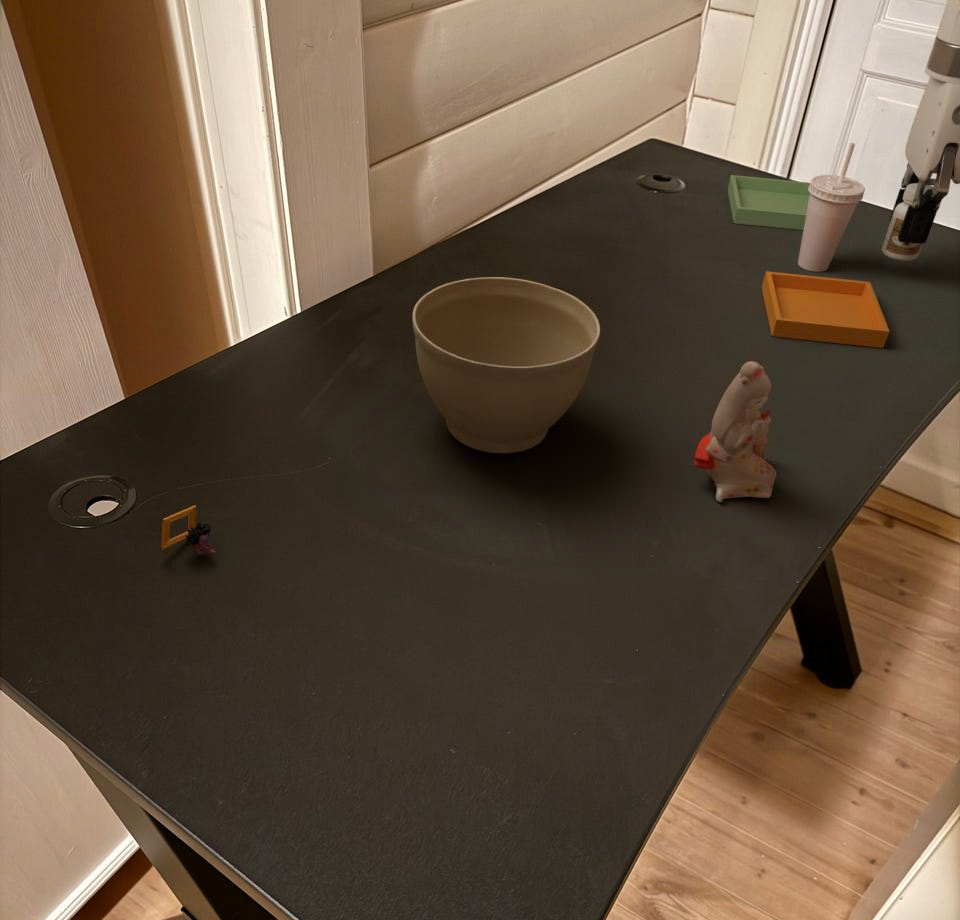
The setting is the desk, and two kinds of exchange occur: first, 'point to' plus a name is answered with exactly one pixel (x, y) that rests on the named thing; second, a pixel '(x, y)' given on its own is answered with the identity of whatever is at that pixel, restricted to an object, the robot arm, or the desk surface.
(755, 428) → the figurine
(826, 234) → the smoothie
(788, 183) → the sage tray
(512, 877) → the desk surface
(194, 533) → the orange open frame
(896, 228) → the pill bottle
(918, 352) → the desk surface
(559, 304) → the planter bowl
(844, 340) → the amber tray
